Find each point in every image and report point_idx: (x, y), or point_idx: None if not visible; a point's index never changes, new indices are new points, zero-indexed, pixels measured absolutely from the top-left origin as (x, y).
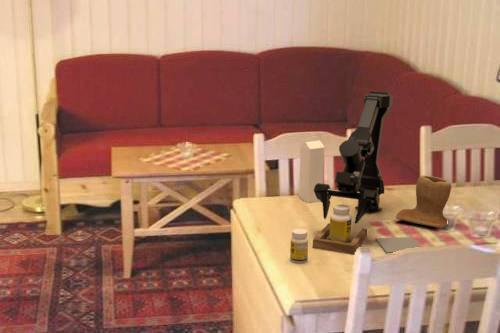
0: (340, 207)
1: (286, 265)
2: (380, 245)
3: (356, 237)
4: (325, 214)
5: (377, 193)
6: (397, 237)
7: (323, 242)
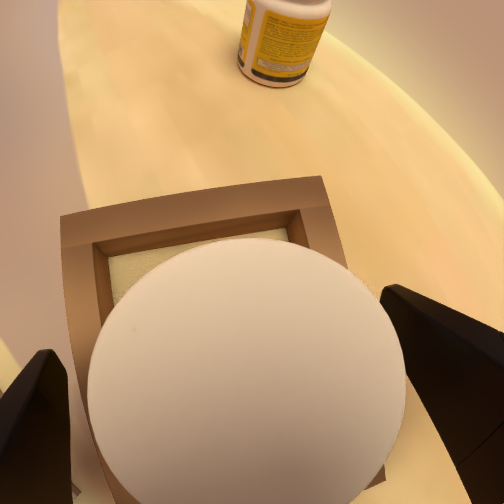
0: (259, 367)
1: None
2: None
3: None
4: (404, 299)
5: None
6: None
7: (253, 186)
